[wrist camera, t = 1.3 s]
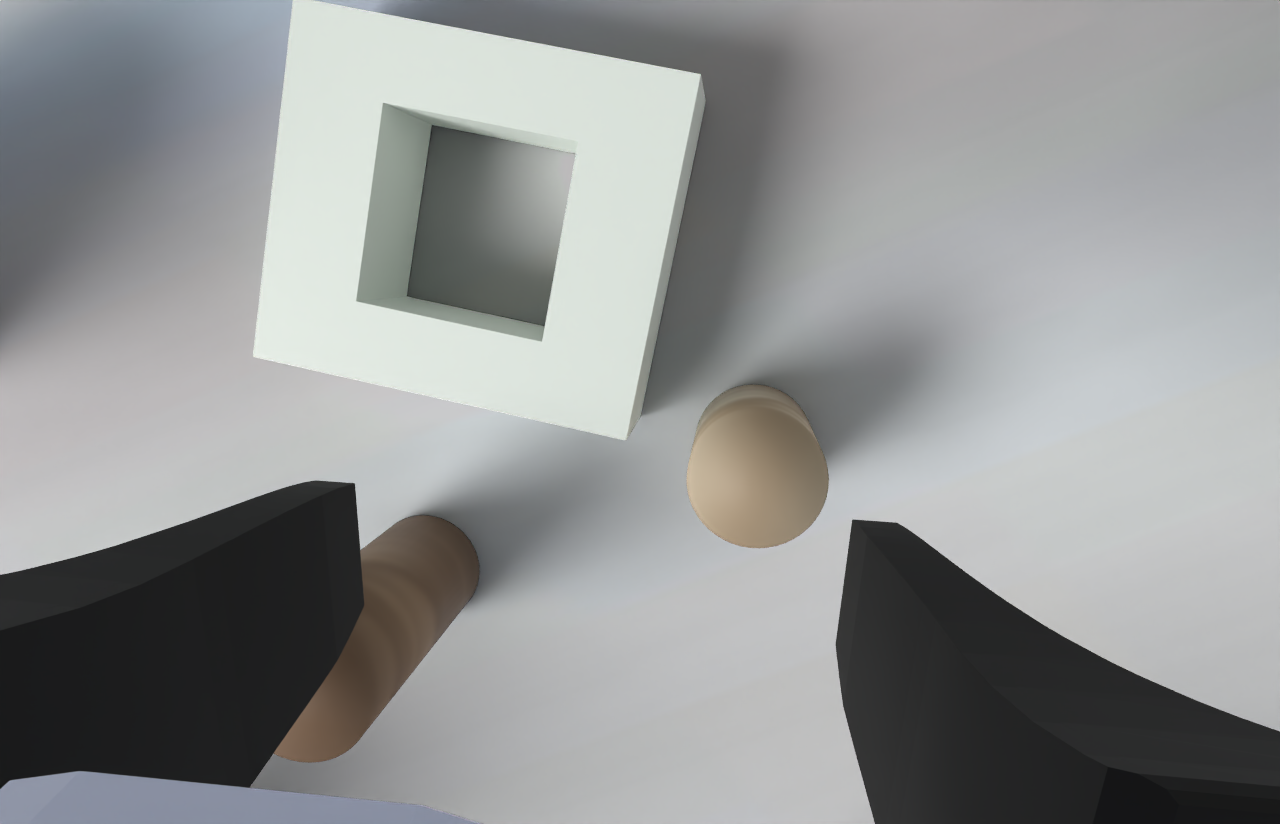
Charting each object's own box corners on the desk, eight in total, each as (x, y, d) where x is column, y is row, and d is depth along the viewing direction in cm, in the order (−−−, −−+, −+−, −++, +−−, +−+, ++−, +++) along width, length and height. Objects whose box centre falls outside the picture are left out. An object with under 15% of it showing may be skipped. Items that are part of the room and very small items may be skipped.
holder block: (705, 101, 20) (700, 74, 17) (640, 416, 22) (625, 440, 19) (355, 33, 21) (293, -4, 18) (315, 344, 23) (252, 357, 20)
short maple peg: (824, 398, 21) (844, 428, 17) (796, 508, 22) (809, 562, 18) (709, 373, 22) (703, 397, 18) (684, 483, 22) (673, 530, 18)
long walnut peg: (487, 528, 23) (382, 641, 16) (470, 628, 24) (361, 778, 17) (383, 504, 23) (235, 605, 16) (368, 603, 24) (220, 742, 17)
